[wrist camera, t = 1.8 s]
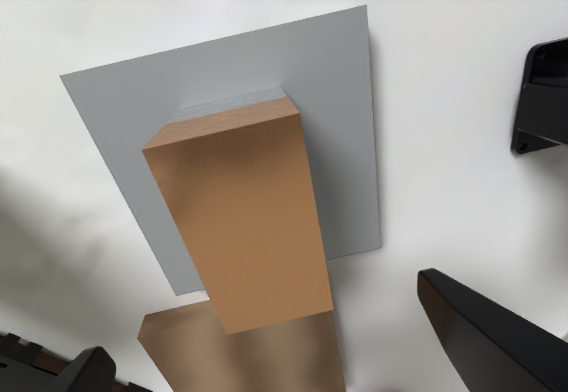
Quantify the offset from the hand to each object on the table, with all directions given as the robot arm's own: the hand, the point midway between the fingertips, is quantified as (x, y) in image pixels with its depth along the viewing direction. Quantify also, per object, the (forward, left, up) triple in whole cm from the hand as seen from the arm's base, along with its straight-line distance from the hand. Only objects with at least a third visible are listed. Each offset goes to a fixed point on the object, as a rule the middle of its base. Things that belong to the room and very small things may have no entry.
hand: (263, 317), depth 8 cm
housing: (0, 0, -9) cm, 9 cm away
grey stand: (0, 0, -11) cm, 11 cm away
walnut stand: (+4, +17, -11) cm, 21 cm away
